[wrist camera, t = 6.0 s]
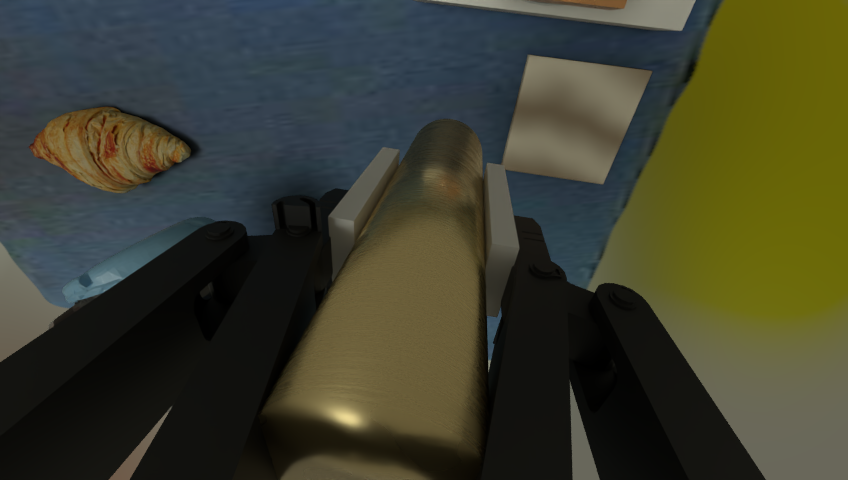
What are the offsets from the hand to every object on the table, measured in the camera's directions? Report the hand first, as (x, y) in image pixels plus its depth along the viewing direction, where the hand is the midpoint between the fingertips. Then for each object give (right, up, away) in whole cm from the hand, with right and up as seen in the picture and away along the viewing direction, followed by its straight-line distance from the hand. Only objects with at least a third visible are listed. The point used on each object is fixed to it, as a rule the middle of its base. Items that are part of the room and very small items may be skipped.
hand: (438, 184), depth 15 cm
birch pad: (+14, +9, +19) cm, 25 cm away
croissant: (-39, +10, +28) cm, 49 cm away
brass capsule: (+1, +2, +3) cm, 4 cm away
